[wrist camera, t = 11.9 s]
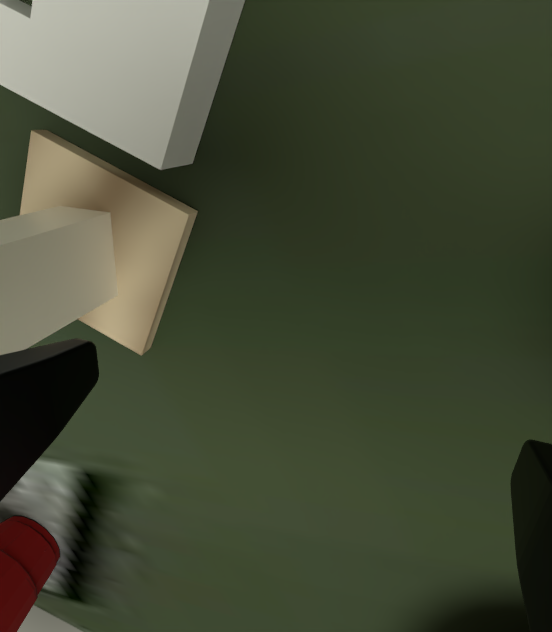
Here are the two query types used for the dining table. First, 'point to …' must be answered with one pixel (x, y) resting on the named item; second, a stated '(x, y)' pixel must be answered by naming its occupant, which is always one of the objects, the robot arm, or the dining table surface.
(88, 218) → the rectangular peg
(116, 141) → the white slotted base
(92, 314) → the pad
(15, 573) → the plastic cup
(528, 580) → the robot arm
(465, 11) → the dining table surface
